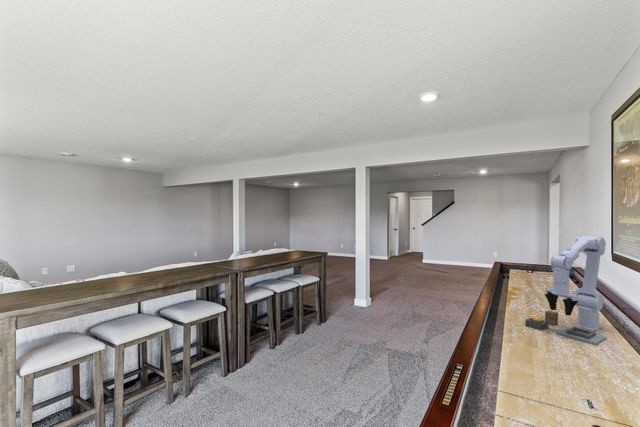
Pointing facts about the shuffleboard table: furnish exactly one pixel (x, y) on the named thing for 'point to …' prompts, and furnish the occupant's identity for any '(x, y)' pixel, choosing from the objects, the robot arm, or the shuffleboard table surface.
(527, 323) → the control box
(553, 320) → the block
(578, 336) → the board
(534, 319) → the button
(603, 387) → the shuffleboard table surface
